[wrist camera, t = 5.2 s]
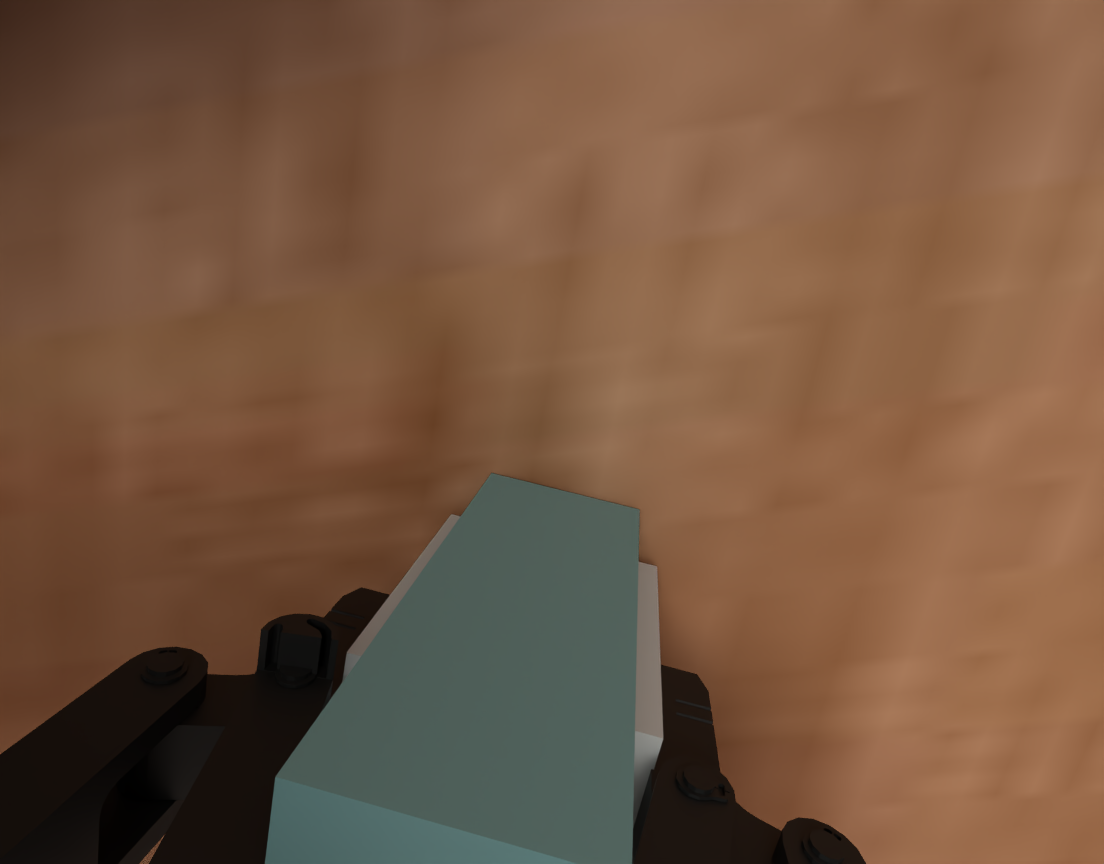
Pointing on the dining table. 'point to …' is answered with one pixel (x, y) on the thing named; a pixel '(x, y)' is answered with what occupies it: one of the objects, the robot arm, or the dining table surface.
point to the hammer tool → (485, 702)
